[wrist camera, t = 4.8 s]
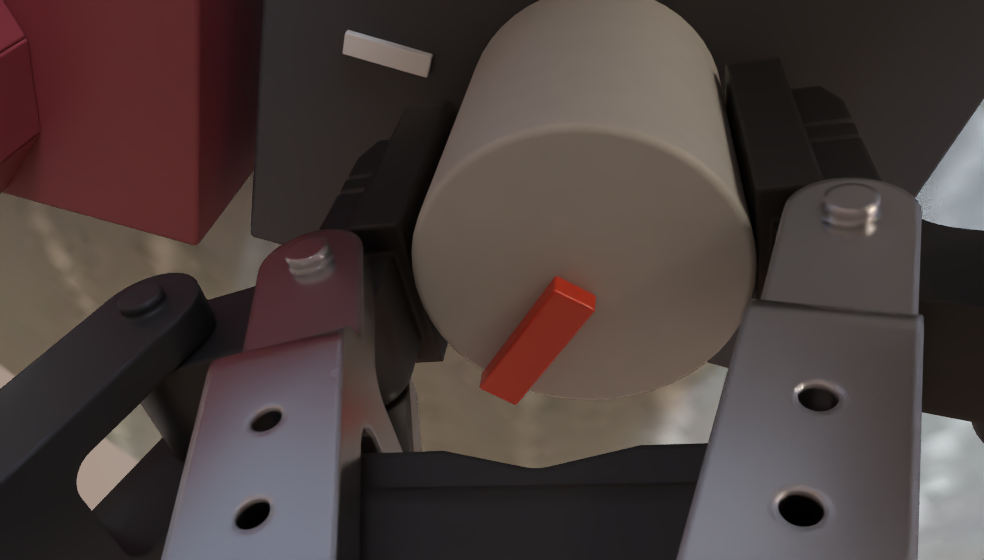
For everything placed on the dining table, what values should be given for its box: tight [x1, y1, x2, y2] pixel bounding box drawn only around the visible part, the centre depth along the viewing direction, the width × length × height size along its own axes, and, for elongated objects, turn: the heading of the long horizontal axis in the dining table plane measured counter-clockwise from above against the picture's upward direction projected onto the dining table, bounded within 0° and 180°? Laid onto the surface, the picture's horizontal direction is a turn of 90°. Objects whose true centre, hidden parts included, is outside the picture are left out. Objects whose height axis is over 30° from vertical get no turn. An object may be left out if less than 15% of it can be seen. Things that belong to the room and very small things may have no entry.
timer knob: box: [411, 0, 757, 405], centre depth 11 cm, size 4×4×5 cm
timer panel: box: [251, 0, 984, 368], centre depth 14 cm, size 11×9×3 cm
